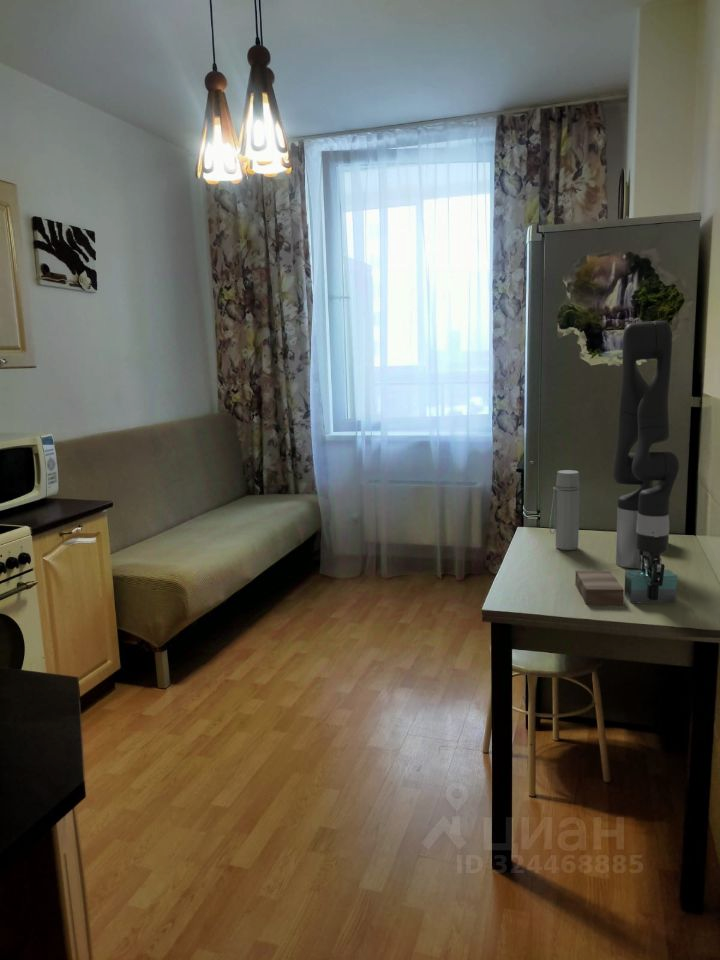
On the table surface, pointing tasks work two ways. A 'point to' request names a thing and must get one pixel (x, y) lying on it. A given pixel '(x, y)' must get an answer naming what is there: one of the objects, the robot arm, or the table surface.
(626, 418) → the robot arm
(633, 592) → the block
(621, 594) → the walnut stand
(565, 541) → the water bottle
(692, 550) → the table surface
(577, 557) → the table surface
